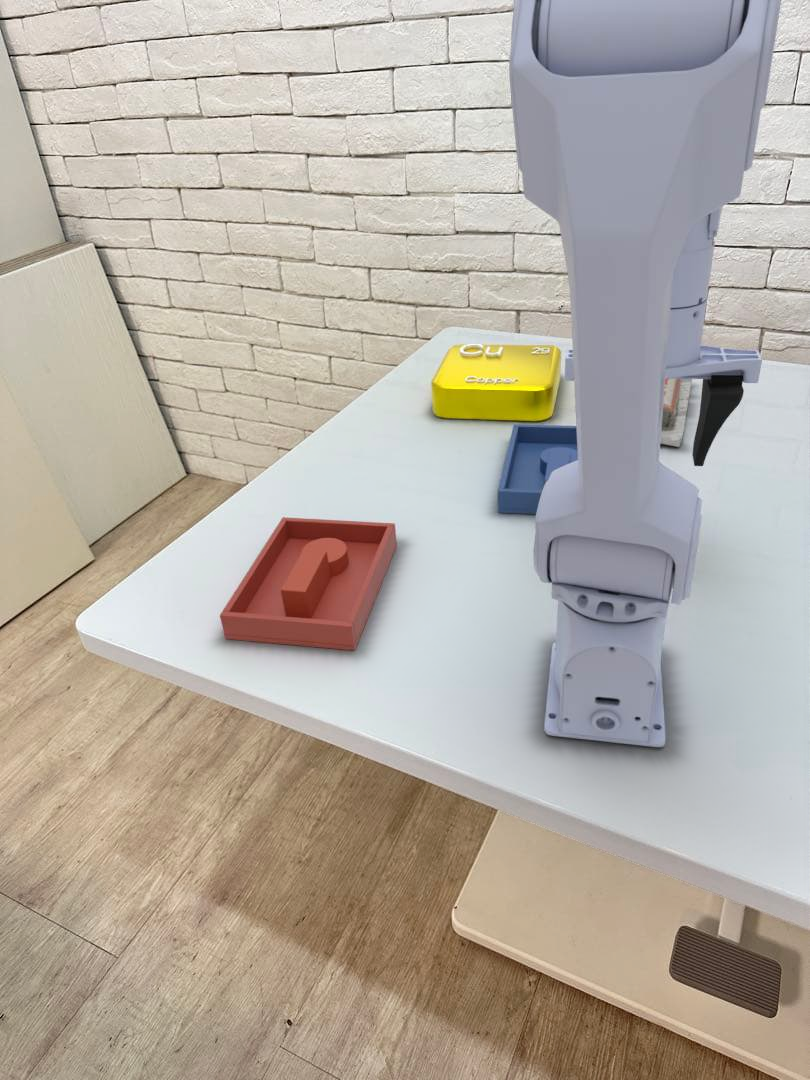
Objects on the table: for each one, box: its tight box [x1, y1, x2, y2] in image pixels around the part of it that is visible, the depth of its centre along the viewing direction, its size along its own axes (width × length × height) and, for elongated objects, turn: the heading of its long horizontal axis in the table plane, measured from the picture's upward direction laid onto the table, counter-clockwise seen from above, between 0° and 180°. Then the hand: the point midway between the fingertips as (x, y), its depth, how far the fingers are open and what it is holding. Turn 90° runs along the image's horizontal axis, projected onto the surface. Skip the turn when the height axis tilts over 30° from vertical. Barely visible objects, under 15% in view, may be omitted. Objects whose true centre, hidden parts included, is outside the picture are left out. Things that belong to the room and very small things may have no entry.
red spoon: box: [281, 538, 349, 619], centre depth 70 cm, size 10×4×3 cm, turn 168°
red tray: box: [219, 516, 398, 651], centre depth 70 cm, size 15×11×2 cm
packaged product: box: [660, 379, 693, 448], centre depth 95 cm, size 18×5×10 cm
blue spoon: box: [540, 447, 578, 485], centre depth 82 cm, size 10×4×3 cm, turn 168°
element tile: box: [430, 343, 562, 422], centre depth 102 cm, size 15×15×5 cm
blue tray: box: [497, 423, 578, 515], centre depth 84 cm, size 15×11×2 cm
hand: (649, 459), depth 67 cm, fingers open, 7 cm apart
